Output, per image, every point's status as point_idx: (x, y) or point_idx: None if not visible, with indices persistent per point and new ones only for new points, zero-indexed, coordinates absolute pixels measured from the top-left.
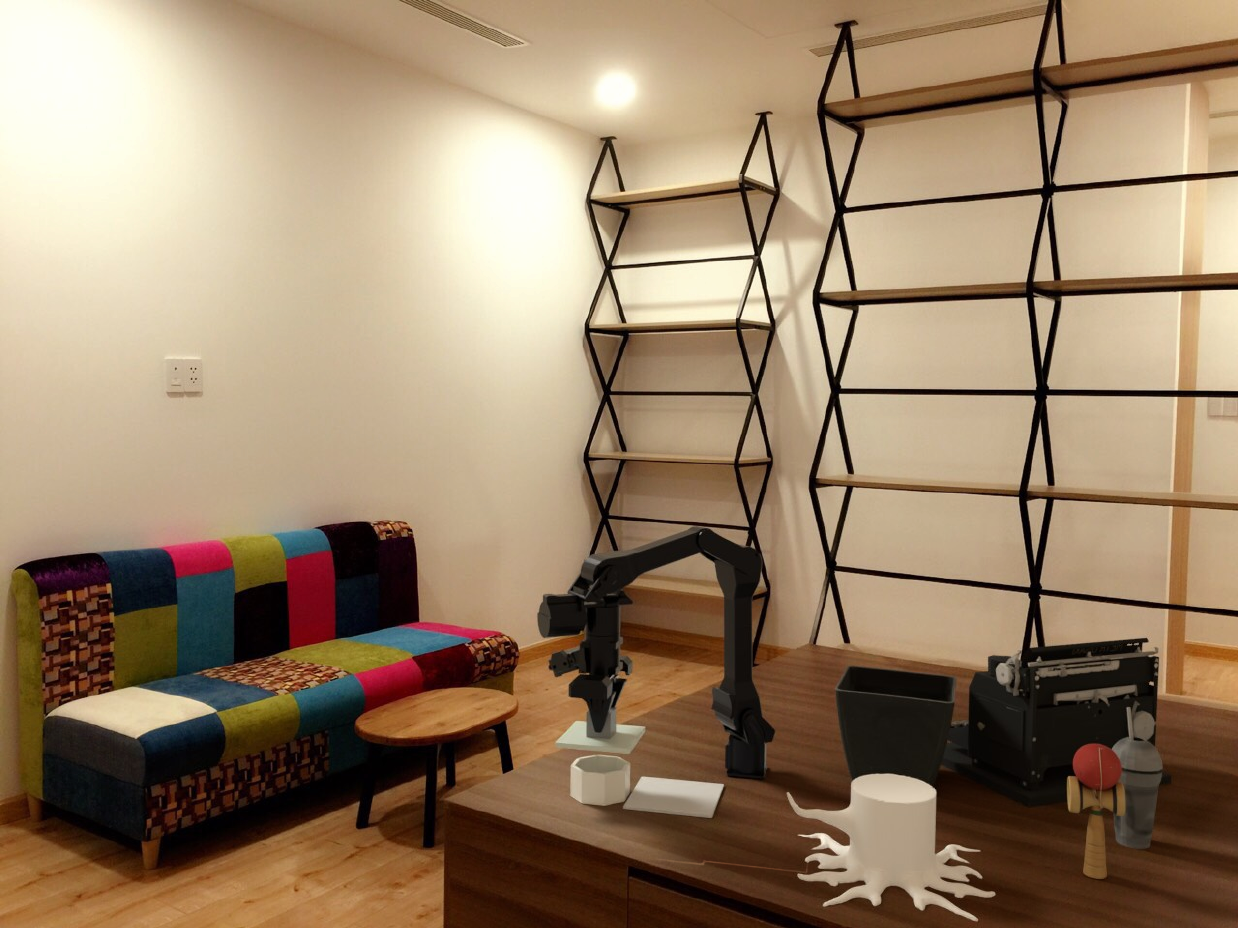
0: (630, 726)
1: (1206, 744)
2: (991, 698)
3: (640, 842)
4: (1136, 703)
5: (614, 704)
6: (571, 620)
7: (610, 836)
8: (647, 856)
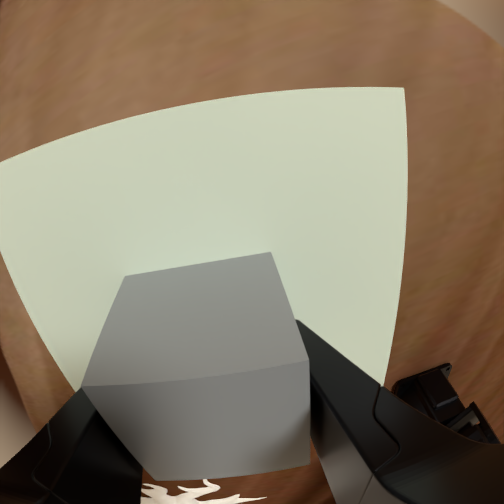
0: (374, 367)
1: None
2: None
3: (46, 365)
4: None
5: (324, 467)
6: None
7: (28, 321)
8: (23, 380)
